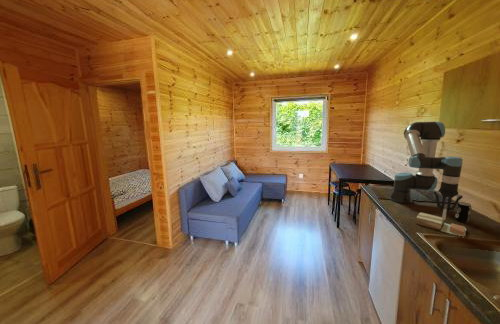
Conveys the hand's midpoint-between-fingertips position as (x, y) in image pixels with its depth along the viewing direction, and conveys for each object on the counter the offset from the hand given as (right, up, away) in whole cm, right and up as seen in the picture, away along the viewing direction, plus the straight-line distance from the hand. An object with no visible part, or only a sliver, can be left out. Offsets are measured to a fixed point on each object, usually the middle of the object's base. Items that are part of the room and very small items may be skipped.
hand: (443, 218), depth 127 cm
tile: (+4, -4, -4) cm, 7 cm away
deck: (-4, -5, +6) cm, 8 cm away
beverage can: (+20, -4, +9) cm, 22 cm away
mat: (+3, -6, -3) cm, 8 cm away
